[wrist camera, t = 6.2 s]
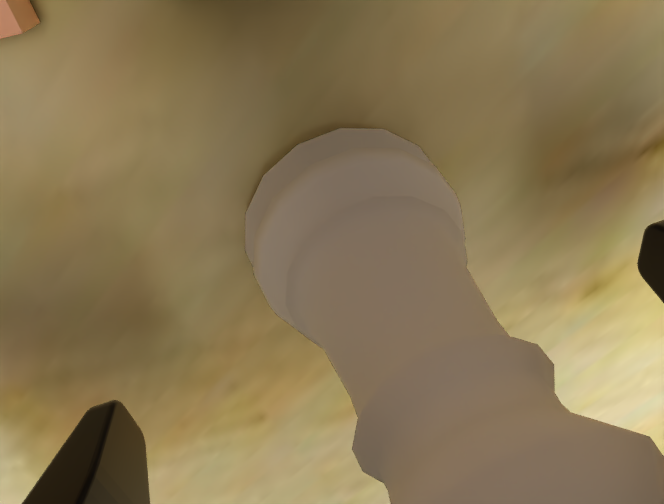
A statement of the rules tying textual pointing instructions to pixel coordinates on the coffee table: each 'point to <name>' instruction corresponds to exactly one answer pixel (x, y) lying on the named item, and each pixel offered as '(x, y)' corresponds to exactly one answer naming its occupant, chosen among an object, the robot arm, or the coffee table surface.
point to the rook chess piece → (424, 336)
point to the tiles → (16, 17)
